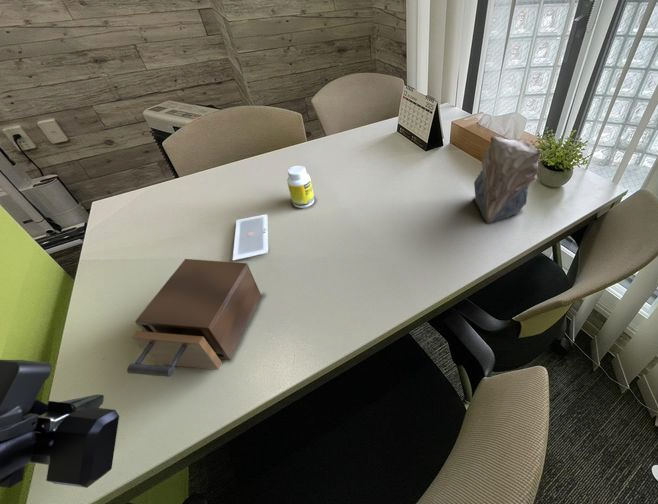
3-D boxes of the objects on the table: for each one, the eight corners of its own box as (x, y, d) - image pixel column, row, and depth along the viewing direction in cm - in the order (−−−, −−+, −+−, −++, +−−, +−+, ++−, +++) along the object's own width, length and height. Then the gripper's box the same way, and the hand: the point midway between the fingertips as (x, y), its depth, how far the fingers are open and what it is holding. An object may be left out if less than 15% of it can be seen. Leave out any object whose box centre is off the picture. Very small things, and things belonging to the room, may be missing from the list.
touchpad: (234, 263, 76) (231, 257, 75) (237, 223, 87) (235, 217, 86) (269, 255, 78) (266, 249, 77) (268, 217, 89) (266, 211, 88)
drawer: (203, 399, 52) (180, 374, 47) (137, 392, 53) (107, 367, 48) (251, 307, 66) (237, 279, 60) (197, 302, 67) (179, 275, 61)
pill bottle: (312, 208, 92) (304, 176, 85) (290, 208, 92) (281, 176, 85) (316, 195, 97) (310, 163, 90) (296, 195, 97) (288, 163, 90)
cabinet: (230, 359, 58) (208, 327, 52) (164, 353, 59) (134, 321, 53) (262, 296, 69) (247, 263, 62) (205, 292, 70) (185, 258, 63)
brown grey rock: (470, 195, 97) (480, 134, 84) (510, 191, 98) (526, 131, 86) (485, 223, 87) (499, 159, 74) (529, 219, 88) (551, 154, 76)
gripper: (34, 397, 26) (179, 338, 41) (-171, 376, 27) (44, 327, 43) (7, 552, 25) (167, 432, 40) (-206, 522, 26) (29, 417, 41)
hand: (100, 398), depth 41 cm, fingers closed
